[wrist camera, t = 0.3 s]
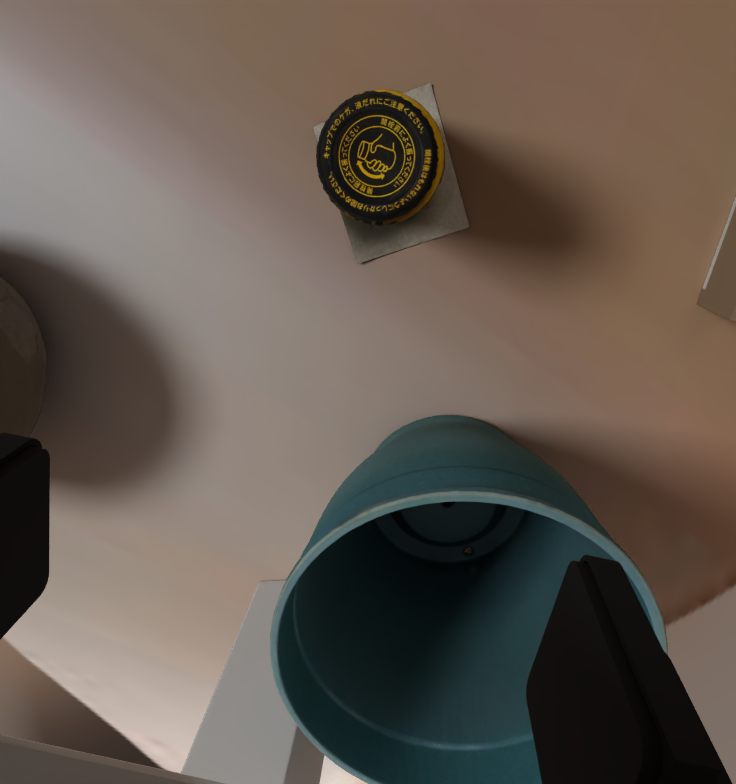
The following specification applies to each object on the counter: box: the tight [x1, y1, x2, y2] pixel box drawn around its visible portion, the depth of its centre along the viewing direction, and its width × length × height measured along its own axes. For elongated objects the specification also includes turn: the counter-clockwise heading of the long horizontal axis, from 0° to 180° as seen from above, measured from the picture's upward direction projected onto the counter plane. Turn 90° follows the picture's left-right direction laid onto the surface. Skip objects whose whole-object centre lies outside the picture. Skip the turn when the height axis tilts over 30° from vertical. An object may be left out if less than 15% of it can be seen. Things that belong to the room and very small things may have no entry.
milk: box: [181, 580, 324, 784], centre depth 39 cm, size 6×6×22 cm
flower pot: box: [270, 415, 667, 784], centre depth 36 cm, size 18×18×17 cm
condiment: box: [313, 83, 469, 264], centre depth 32 cm, size 7×8×12 cm
